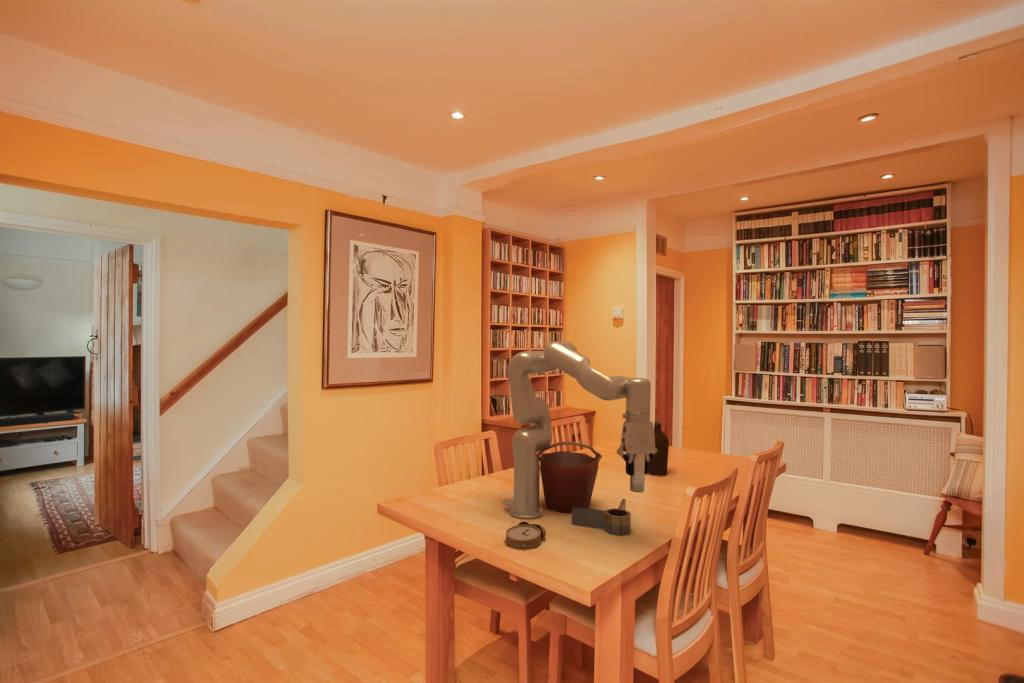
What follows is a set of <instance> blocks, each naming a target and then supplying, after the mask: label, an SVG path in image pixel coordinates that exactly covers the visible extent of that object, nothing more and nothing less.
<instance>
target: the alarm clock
mask: <svg viewBox="0 0 1024 683" xmlns="http://www.w3.org/2000/svg"><path fill="white" fill-rule="evenodd" d="M546 532H547V531H546V529H545V527H544V526H543V525H541V524H536V523H529V522H528V521H525V520H524V521H523V520H522V521H520V522H519V523H518V524H517V525H513V526H511V527H508V528H507V530H506V531H505V540H504V541H503V542H504V543H506V545H507V546H508V547H511V548H512V549H514V550H516V549H517V550H522V549H523V550H534V549H537V548H538V547H539V546H540V545H541V544H542V540H544V539H545V538H546ZM523 550H522V551H523Z"/></svg>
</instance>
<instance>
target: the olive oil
mask: <svg viewBox="0 0 1024 683" xmlns="http://www.w3.org/2000/svg"><path fill="white" fill-rule="evenodd" d="M653 428H654V436H655V447H656V449H657V452H656V453H655V454H654V455H653V456H652V457H651V459H650V461H649V462H648V471H647V474H648V473H649V474H648V475H650V474H652V475H651V476H653V475H665V476H667V475H668V461H669V449H670V448H669V446H670V442H669V438H668V437H667V435H666V433H664V431H663V430H662V422H661V421H654V423H653ZM666 474H667V475H666Z"/></svg>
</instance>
